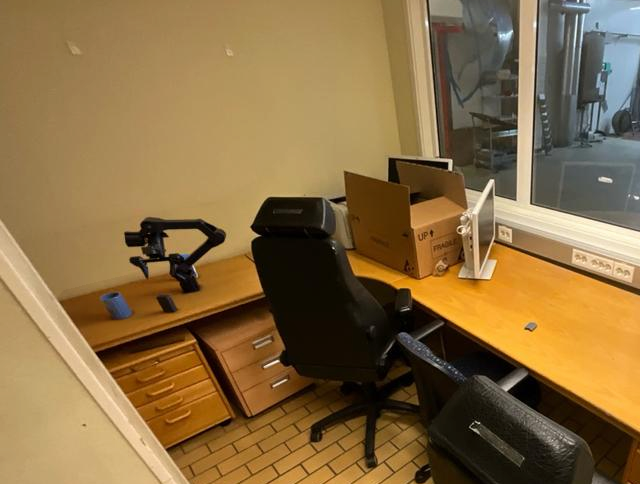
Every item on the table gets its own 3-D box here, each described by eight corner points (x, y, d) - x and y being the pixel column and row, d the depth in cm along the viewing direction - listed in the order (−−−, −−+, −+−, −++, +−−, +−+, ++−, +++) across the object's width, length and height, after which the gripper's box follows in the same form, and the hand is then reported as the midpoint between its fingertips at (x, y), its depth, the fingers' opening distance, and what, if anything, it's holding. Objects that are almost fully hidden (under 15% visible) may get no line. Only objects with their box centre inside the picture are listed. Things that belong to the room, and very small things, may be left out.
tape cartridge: (177, 281, 203) (166, 259, 196) (178, 278, 206) (167, 256, 199) (197, 277, 207) (187, 256, 200) (198, 275, 210) (188, 253, 203)
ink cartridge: (178, 309, 180) (169, 294, 176) (174, 312, 179) (166, 297, 174) (167, 309, 180) (159, 294, 176) (163, 312, 179) (155, 296, 174)
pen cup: (133, 310, 180) (121, 290, 174) (130, 317, 175) (118, 297, 169) (114, 313, 177) (101, 294, 171) (110, 320, 172) (97, 301, 166)
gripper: (119, 239, 169) (123, 273, 166) (171, 236, 174) (175, 268, 172) (135, 250, 179) (138, 282, 177) (183, 246, 185) (187, 277, 183)
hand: (159, 277), depth 177 cm, fingers open, 9 cm apart
